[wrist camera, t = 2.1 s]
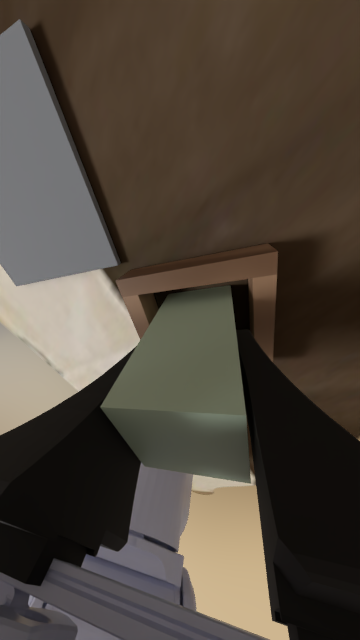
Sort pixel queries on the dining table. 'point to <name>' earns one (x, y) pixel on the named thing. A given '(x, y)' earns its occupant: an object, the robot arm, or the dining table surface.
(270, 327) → the pocket collar
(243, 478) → the green block
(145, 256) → the dining table surface
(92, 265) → the pad
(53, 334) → the dining table surface
